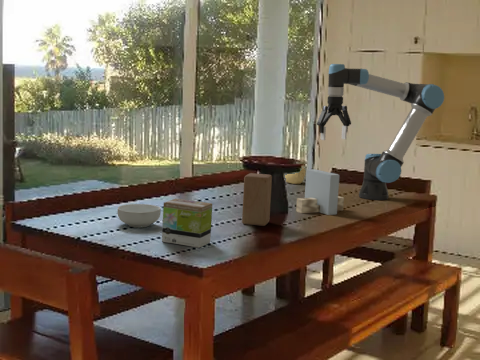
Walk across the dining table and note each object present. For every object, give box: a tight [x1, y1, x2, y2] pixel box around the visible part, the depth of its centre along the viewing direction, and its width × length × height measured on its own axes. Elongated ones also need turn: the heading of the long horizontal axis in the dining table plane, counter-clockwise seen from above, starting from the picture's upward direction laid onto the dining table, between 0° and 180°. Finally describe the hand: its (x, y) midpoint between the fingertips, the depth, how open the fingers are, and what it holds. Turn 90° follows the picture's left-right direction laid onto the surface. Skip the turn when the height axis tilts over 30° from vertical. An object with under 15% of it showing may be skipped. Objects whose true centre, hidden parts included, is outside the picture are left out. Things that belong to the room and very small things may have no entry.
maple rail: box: [295, 195, 345, 214], centre depth 336 cm, size 24×4×6 cm, turn 122°
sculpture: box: [285, 167, 307, 185], centre depth 418 cm, size 12×12×11 cm
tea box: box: [161, 198, 213, 249], centre depth 260 cm, size 15×10×15 cm, turn 69°
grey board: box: [304, 168, 340, 216], centre depth 335 cm, size 18×5×18 cm, turn 31°
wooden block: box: [241, 172, 273, 227], centre depth 300 cm, size 10×10×20 cm
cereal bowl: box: [117, 203, 161, 228], centre depth 285 cm, size 17×17×7 cm
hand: (333, 139), depth 359 cm, fingers open, 13 cm apart
